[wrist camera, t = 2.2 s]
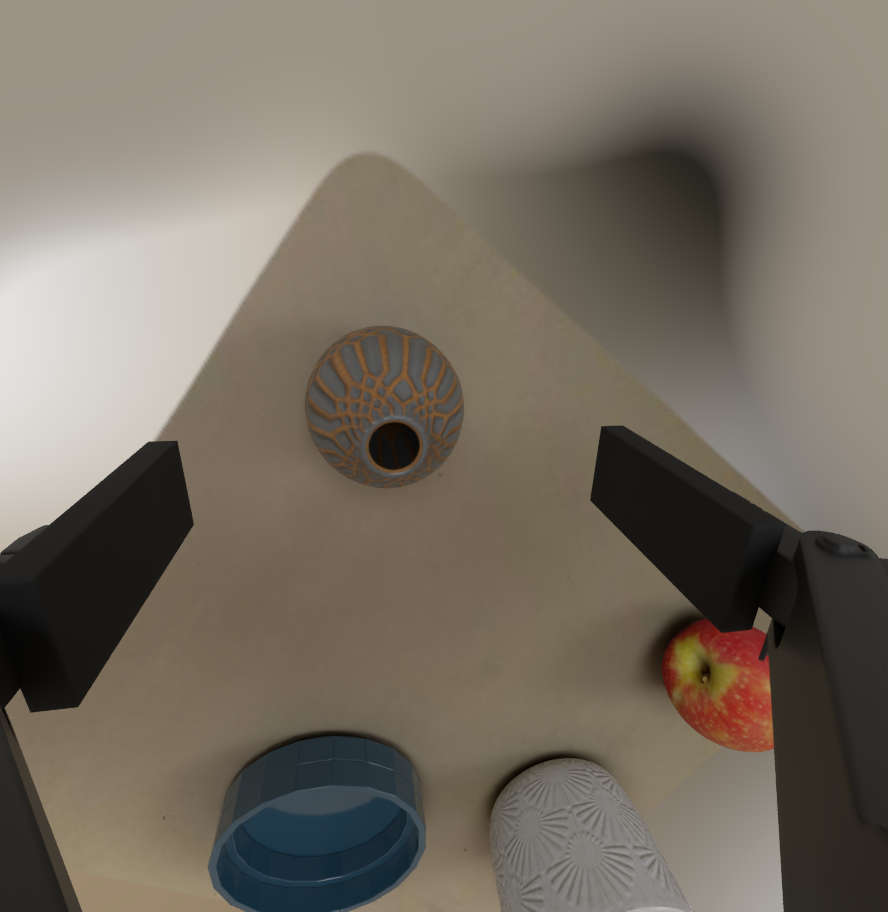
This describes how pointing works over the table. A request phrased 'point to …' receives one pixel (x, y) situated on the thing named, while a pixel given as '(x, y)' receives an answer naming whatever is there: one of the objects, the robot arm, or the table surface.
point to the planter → (576, 845)
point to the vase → (384, 406)
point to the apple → (721, 685)
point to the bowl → (319, 827)
